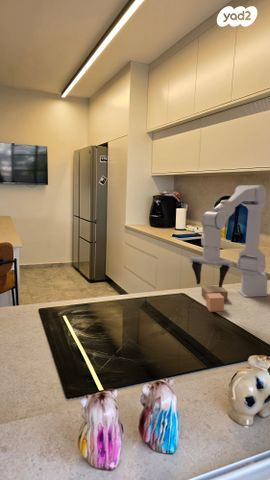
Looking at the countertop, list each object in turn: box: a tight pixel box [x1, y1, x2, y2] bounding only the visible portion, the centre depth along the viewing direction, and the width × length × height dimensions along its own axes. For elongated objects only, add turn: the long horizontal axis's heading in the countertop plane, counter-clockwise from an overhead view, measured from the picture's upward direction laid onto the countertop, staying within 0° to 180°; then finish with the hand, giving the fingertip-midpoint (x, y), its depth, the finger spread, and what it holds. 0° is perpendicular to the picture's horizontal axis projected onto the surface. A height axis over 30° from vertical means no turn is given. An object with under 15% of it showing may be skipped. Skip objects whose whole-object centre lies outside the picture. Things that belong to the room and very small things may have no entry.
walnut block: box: [201, 285, 229, 302], centre depth 130 cm, size 8×8×4 cm
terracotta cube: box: [205, 293, 225, 313], centre depth 119 cm, size 5×5×5 cm
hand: (209, 285), depth 114 cm, fingers open, 7 cm apart
